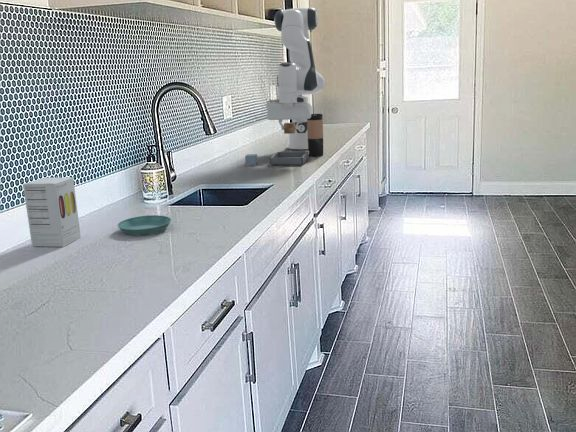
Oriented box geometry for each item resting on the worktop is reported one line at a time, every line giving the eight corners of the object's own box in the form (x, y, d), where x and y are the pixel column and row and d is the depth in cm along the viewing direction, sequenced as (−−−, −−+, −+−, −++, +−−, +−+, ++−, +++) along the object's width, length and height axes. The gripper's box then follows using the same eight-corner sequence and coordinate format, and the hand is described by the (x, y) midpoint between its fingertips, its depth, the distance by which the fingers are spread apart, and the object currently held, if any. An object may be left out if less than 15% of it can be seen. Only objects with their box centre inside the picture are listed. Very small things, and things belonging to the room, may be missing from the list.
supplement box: (63, 247, 152) (54, 183, 147) (31, 247, 153) (21, 183, 149) (82, 236, 161) (74, 176, 156) (51, 236, 162) (42, 176, 158)
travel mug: (324, 154, 291) (323, 113, 286) (323, 156, 283) (322, 114, 279) (308, 154, 292) (307, 114, 287) (307, 157, 284) (306, 115, 279)
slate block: (248, 164, 272) (247, 154, 271) (257, 163, 271) (256, 154, 270) (245, 165, 267) (245, 155, 266) (255, 165, 267) (254, 155, 265)
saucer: (112, 230, 168) (110, 221, 167) (161, 221, 175) (160, 212, 174) (127, 241, 155) (126, 232, 155) (179, 231, 163) (179, 222, 162)
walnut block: (284, 133, 269) (283, 123, 268) (285, 132, 274) (285, 122, 273) (293, 133, 269) (293, 123, 267) (295, 132, 273) (294, 122, 272)
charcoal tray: (277, 159, 281) (277, 151, 280) (308, 158, 279) (308, 151, 278) (270, 165, 263) (269, 158, 262) (303, 165, 261) (302, 157, 260)
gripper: (264, 100, 266) (266, 130, 269) (309, 98, 263) (310, 129, 266) (267, 99, 272) (268, 129, 275) (311, 97, 269) (312, 128, 272)
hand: (289, 129), depth 271 cm, fingers closed on walnut block, 4 cm apart
